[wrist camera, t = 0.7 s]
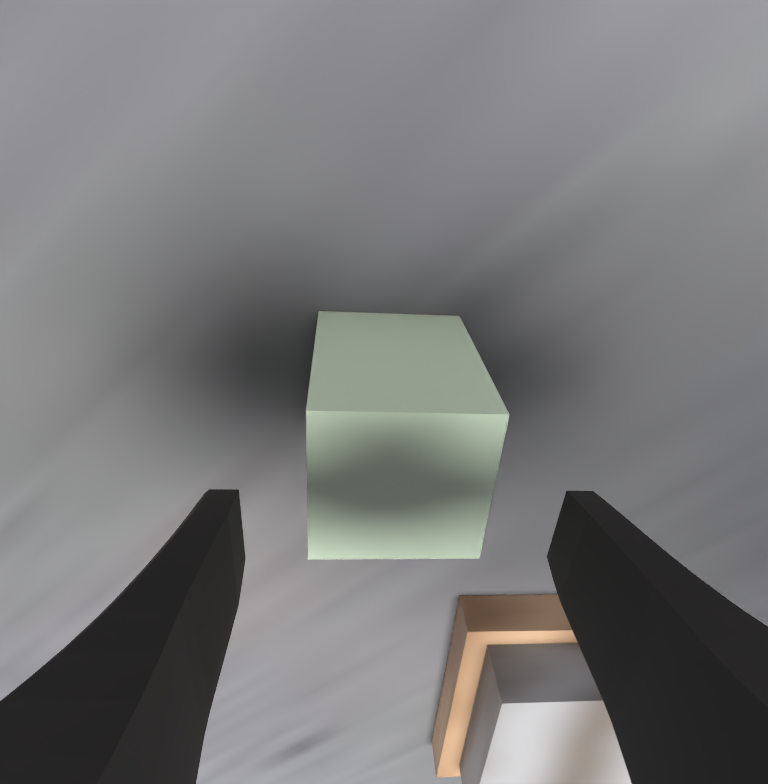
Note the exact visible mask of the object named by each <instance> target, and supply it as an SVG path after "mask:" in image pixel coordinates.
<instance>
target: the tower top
mask: <svg viewBox="0 0 768 784" xmlns="http://www.w3.org/2000/svg"><path fill="white" fill-rule="evenodd" d="M459 768H460V774H461V780H462V784H632V783H631V780H630V777H629V774H628V771H627V768H626V764H625V761H624V758H623V755H622V752H621V749H620V746H619V743H618V740H617V737H616V734H615V731H614V728H613V725H612V722H611V720H610V717H609V715H608V712H607V709H606V707H605V704H604V702H603V699H602V697H601V695H600V692H599V690H598V688H597V686H596V683H595V681H594V679H593V676H592V674H591V672H590V670H589V667H588V665H587V663H586V660H585V658H584V656H583V654H582V651H581V649H580V647H579V644H578V643H541V644H494V645H487V648H486V653H485V657H484V661H483V666H482V670H481V674H480V678H479V683H478V687H477V691H476V695H475V700H474V704H473V708H472V712H471V717H470V721H469V725H468V730H467V734H466V738H465V742H464V747H463V751H462V755H461V759H460V764H459Z"/></svg>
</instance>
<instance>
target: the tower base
mask: <svg viewBox="0 0 768 784" xmlns="http://www.w3.org/2000/svg"><path fill="white" fill-rule="evenodd" d="M541 643H578V642H577V640H576V638H575V635H574V633H573V631H572V628H571V626H570V624H569V621H568V619H567V617H566V614H565V612H564V610H563V607H562V605H561V602H560V600H559V597H558V595H465V596H459V602H458V607H457V612H456V617H455V623H454V628H453V633H452V638H451V644H450V649H449V654H448V659H447V665H446V670H445V675H444V680H443V685H442V691H441V696H440V701H439V706H438V712H437V717H436V722H435V727H434V733H433V738H432V746H433V754H434V762H435V770H436V777H455V776H461V774H460V768H459V764H460V759H461V755H462V751H463V747H464V742H465V738H466V734H467V730H468V725H469V721H470V717H471V712H472V708H473V704H474V700H475V695H476V691H477V687H478V683H479V678H480V674H481V670H482V666H483V661H484V657H485V653H486V648H487V645H494V644H541Z"/></svg>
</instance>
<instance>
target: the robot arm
mask: <svg viewBox="0 0 768 784" xmlns="http://www.w3.org/2000/svg"><path fill="white" fill-rule="evenodd" d="M547 558H548V562H549V566H550V569H551V573H552V577H553V580H554V584H555V587H556V590H557V593H558V597H559V600H560V602H561V605H562V607H563V610H564V612H565V614H566V617H567V619H568V621H569V624H570V626H571V628H572V631H573V633H574V635H575V638H576V640H577V642H578V644H579V647H580V649H581V651H582V654H583V656H584V658H585V660H586V663H587V665H588V667H589V670H590V672H591V674H592V676H593V679H594V681H595V683H596V686H597V688H598V690H599V692H600V695H601V697H602V699H603V702H604V704H605V707H606V709H607V712H608V715H609V717H610V720H611V722H612V725H613V728H614V731H615V734H616V737H617V740H618V743H619V746H620V749H621V752H622V755H623V758H624V761H625V764H626V768H627V771H628V774H629V777H630V780H631V783H632V784H768V627H767V626H766V625H764V624H763V623H761V622H760V621H758V620H757V619H755V618H754V617H752V616H751V615H749V614H748V613H746V612H745V611H743V610H742V609H741V608H739V607H738V606H736V605H735V604H733V603H732V602H731V601H729V600H728V599H726V598H725V597H724V596H722V595H721V594H720V593H718V592H717V591H716V590H714V589H713V588H712V587H710V586H709V585H708V584H706V583H705V582H704V581H702V580H701V579H700V578H698V577H697V576H696V575H694V574H693V573H692V572H691V571H689V570H688V569H687V568H686V567H684V566H683V565H682V564H681V563H679V562H678V561H677V560H676V559H674V558H673V557H672V556H671V555H669V554H668V553H667V552H666V551H664V550H663V549H662V548H661V547H660V546H658V545H657V544H656V543H655V542H654V541H652V540H651V539H650V538H649V537H648V536H646V535H645V534H644V533H643V532H642V531H641V530H639V529H638V528H637V527H636V526H635V525H633V524H632V523H631V522H630V521H629V520H628V519H626V518H625V517H624V516H623V515H622V514H620V513H619V512H618V511H617V510H616V509H615V508H613V507H612V506H611V505H610V504H609V503H607V502H606V501H605V500H604V499H602V498H601V497H600V496H599V495H597V494H596V493H595V492H593V491H566V495H565V498H564V501H563V505H562V508H561V511H560V515H559V518H558V521H557V525H556V528H555V532H554V535H553V538H552V542H551V545H550V548H549V552H548V555H547ZM244 565H245V550H244V540H243V529H242V519H241V509H240V499H239V490H211V489H209V490H208V491H207V492H206V493H205V494H204V495H203V496H202V498H201V499H200V500H199V502H198V503H197V504H196V506H195V507H194V508H193V510H192V511H191V512H190V514H189V515H188V516H187V517H186V519H185V520H184V521H183V523H182V524H181V525H180V526H179V528H178V529H177V530H176V531H175V533H174V534H173V535H172V536H171V537H170V539H169V540H168V541H167V542H166V543H165V545H164V546H163V547H162V548H161V549H160V550H159V552H158V553H157V554H156V555H155V556H154V557H153V559H152V560H151V561H150V562H149V563H148V564H147V566H146V567H145V568H144V569H143V570H142V571H141V572H140V573H139V574H138V576H137V577H136V578H135V579H134V580H133V581H132V582H131V583H130V584H129V585H128V586H127V587H126V588H125V589H124V590H123V591H122V593H121V594H120V595H119V596H118V597H117V598H116V599H115V600H114V601H113V602H112V603H111V604H110V605H109V606H108V607H107V608H106V609H105V610H104V611H103V612H102V613H101V614H100V615H99V616H98V617H97V618H96V619H95V620H94V621H93V622H92V623H91V624H90V625H89V626H88V627H86V628H85V629H84V630H83V631H82V632H81V633H80V634H79V635H78V636H77V637H76V638H75V639H73V640H72V641H71V642H70V643H69V644H68V645H67V646H66V647H65V648H64V649H62V650H61V651H60V652H59V653H58V654H57V655H55V656H54V657H53V658H52V659H51V660H50V661H48V662H47V663H46V664H45V665H44V666H42V667H41V668H40V669H39V670H38V671H37V672H35V673H34V674H33V675H32V676H31V677H30V678H28V679H27V680H26V681H25V682H24V683H22V684H21V685H20V686H19V687H17V688H16V689H15V690H14V691H12V692H11V693H10V694H9V695H7V696H6V697H5V698H4V699H2V700H1V701H0V784H196V779H197V774H198V768H199V762H200V757H201V751H202V745H203V740H204V735H205V730H206V726H207V722H208V717H209V713H210V709H211V705H212V702H213V698H214V694H215V691H216V687H217V683H218V679H219V676H220V672H221V668H222V665H223V661H224V657H225V654H226V650H227V646H228V642H229V639H230V635H231V631H232V627H233V624H234V620H235V616H236V612H237V608H238V604H239V598H240V592H241V585H242V579H243V572H244Z"/></svg>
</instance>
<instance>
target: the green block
mask: <svg viewBox="0 0 768 784" xmlns="http://www.w3.org/2000/svg"><path fill="white" fill-rule="evenodd" d="M509 415H510V414H509V412H508V410H507V408H506V407H505V405H504V403H503V401H502V399H501V397H500V395H499V393H498V391H497V389H496V387H495V385H494V383H493V381H492V379H491V377H490V375H489V373H488V371H487V369H486V367H485V365H484V363H483V361H482V359H481V357H480V355H479V353H478V351H477V349H476V347H475V345H474V343H473V341H472V339H471V337H470V335H469V334H468V332H467V330H466V328H465V326H464V324H463V322H462V320H461V318H460V316H448V315H419V314H390V313H362V312H333V311H319V312H318V320H317V328H316V336H315V344H314V351H313V359H312V367H311V375H310V383H309V391H308V398H307V406H306V449H307V516H308V559H479V558H480V553H481V549H482V544H483V539H484V534H485V530H486V525H487V520H488V515H489V510H490V506H491V501H492V496H493V491H494V487H495V482H496V477H497V472H498V467H499V463H500V458H501V453H502V448H503V444H504V439H505V434H506V429H507V424H508V420H509Z"/></svg>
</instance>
